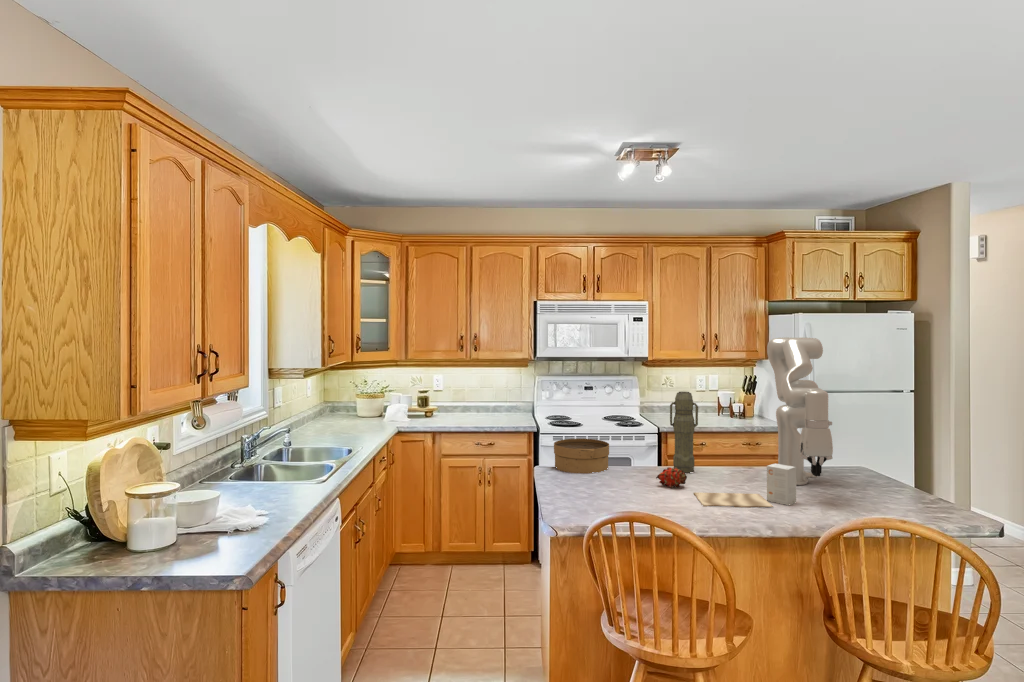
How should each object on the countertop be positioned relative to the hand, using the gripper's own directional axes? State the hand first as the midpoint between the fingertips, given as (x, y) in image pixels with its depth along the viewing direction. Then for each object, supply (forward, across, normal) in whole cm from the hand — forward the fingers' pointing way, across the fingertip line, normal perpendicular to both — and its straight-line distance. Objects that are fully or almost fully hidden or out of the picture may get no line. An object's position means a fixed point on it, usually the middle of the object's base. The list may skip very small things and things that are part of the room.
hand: (816, 475), depth 216 cm
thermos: (+10, +38, -45) cm, 60 cm away
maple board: (+10, +30, 0) cm, 31 cm away
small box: (+10, +12, 0) cm, 16 cm away
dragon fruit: (+10, +48, -18) cm, 52 cm away
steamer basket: (+10, +83, -50) cm, 97 cm away
